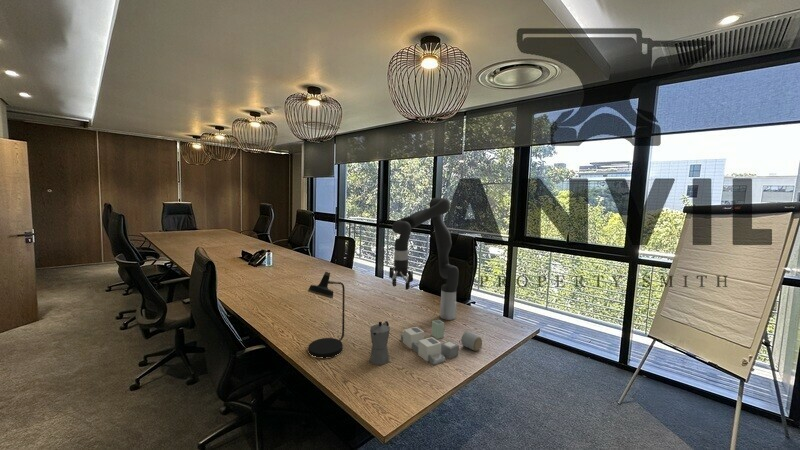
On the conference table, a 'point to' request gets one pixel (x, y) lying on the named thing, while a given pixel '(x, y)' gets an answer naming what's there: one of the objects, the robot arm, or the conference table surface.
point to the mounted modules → (421, 342)
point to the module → (437, 329)
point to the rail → (431, 359)
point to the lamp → (335, 346)
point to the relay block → (449, 349)
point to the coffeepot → (379, 343)
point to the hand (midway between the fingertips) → (400, 287)
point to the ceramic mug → (471, 341)
